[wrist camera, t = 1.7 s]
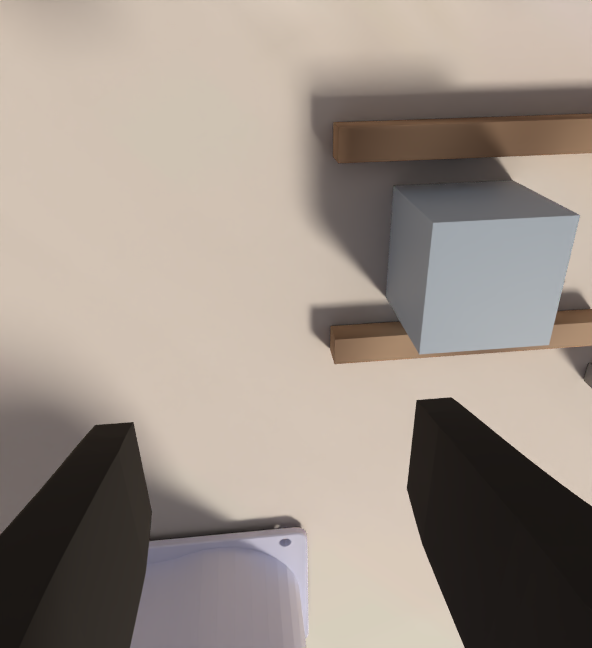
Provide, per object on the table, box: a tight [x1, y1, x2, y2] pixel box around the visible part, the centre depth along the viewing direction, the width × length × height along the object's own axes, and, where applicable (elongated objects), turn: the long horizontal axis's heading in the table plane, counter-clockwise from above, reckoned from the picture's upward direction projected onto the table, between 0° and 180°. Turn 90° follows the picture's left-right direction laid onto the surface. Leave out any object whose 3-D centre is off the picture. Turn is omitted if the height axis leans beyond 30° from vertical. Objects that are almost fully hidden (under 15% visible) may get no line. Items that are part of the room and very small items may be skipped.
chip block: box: [386, 180, 580, 354], centre depth 17 cm, size 4×4×4 cm
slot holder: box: [330, 114, 592, 364], centre depth 18 cm, size 10×8×1 cm
